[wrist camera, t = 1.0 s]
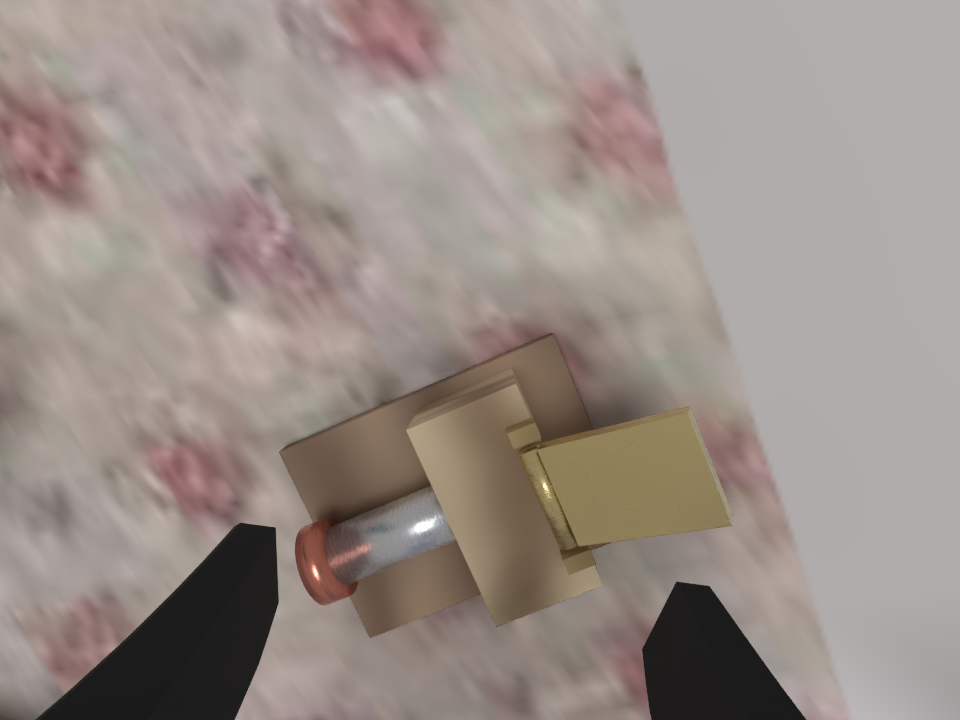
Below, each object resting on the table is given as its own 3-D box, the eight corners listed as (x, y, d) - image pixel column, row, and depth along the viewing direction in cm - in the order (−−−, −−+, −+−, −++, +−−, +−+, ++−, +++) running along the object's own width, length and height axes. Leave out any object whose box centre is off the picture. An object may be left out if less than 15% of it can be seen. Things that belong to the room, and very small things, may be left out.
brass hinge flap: (563, 537, 24) (555, 551, 23) (523, 445, 24) (514, 456, 23) (733, 513, 20) (731, 528, 20) (690, 404, 20) (687, 414, 19)
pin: (344, 578, 29) (322, 622, 25) (312, 513, 29) (285, 548, 25) (525, 504, 28) (531, 538, 25) (496, 437, 28) (496, 461, 24)
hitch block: (373, 626, 31) (342, 717, 24) (285, 446, 29) (228, 491, 23) (631, 524, 30) (670, 590, 23) (551, 333, 28) (569, 346, 22)
